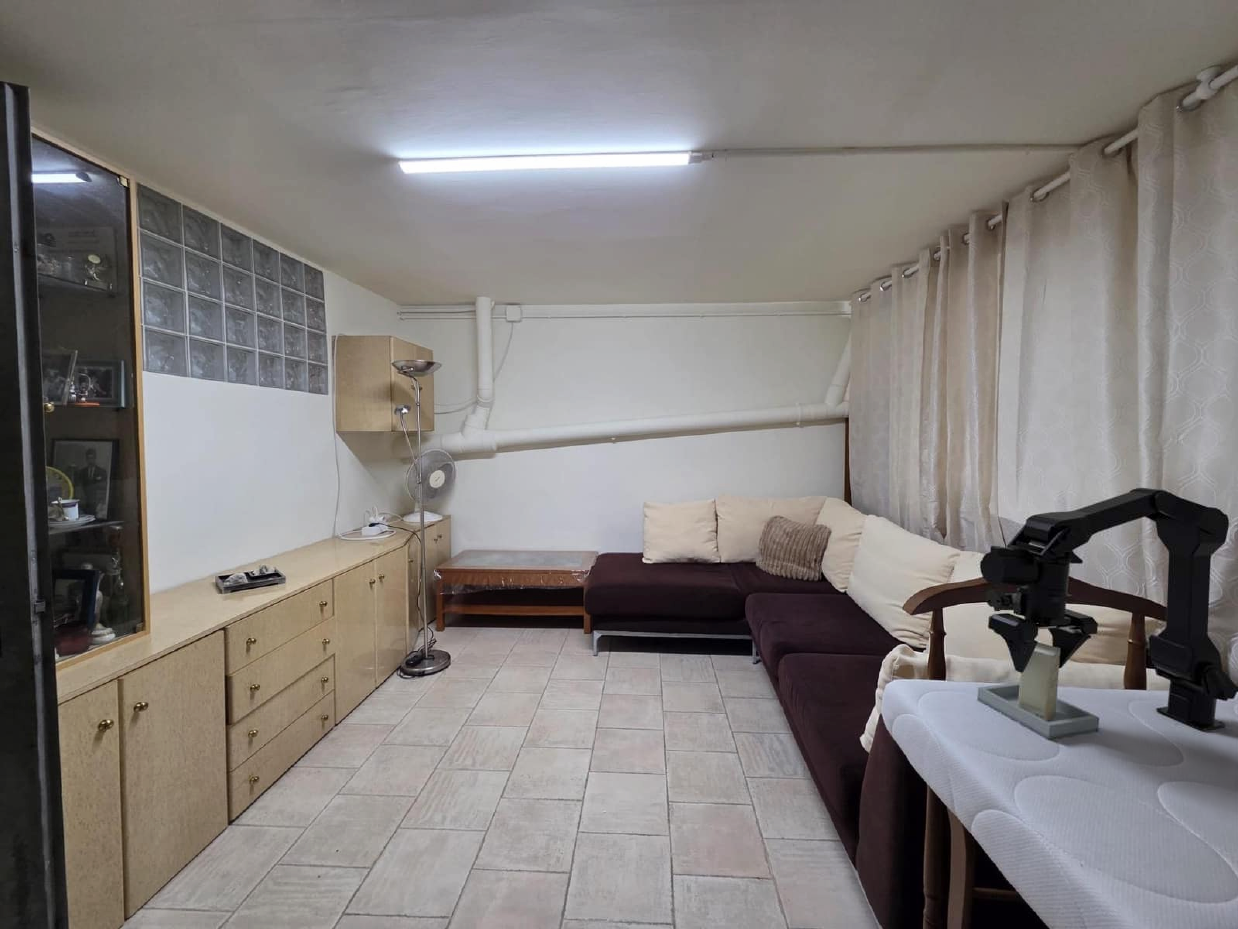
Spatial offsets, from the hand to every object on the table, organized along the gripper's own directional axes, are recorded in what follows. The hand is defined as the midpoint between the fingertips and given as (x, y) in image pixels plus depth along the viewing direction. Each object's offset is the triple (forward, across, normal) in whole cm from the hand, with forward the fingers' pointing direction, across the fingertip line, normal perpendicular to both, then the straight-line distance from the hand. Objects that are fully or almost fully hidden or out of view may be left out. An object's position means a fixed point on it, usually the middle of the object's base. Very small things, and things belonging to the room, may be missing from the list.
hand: (1038, 669), depth 90 cm
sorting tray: (+9, 0, 0) cm, 9 cm away
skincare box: (+8, 0, 0) cm, 8 cm away
